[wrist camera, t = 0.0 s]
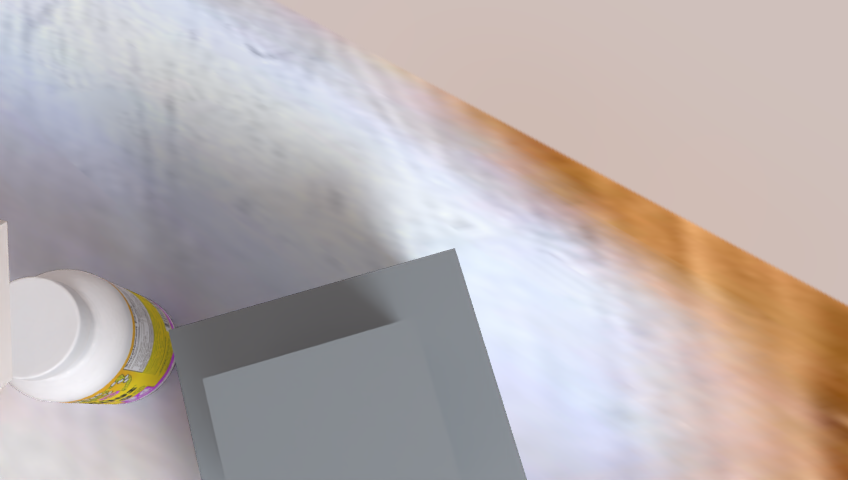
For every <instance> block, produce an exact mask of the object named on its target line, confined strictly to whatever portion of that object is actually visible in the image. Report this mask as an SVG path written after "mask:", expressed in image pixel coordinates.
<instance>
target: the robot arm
mask: <svg viewBox="0 0 848 480" xmlns="http://www.w3.org/2000/svg"><path fill="white" fill-rule="evenodd" d="M12 379H13V374H12V345H11V316H10V287H9V258H8V228H7V221H4V220H0V390H1V389H2V388H3V387H4V386H5V385H6V384H8V383H9V382H10V381H11V380H12Z"/></svg>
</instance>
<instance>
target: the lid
mask: <svg viewBox="0 0 848 480" xmlns="http://www.w3.org/2000/svg"><path fill="white" fill-rule="evenodd" d="M168 331H169V335H170V340H171V344H172V349H173V353H174V358H175V362H176V367H177V371H178V376H179V380H180V385H181V389H182V394H183V398H184V403H185V407H186V412H187V416H188V421H189V426H190V430H191V435H192V439H193V444H194V448H195V453H196V457H197V462H198V466H199V471H200V475H201V480H527V479H526V475H525V472H524V469H523V466H522V463H521V459H520V456H519V453H518V450H517V447H516V443H515V440H514V437H513V434H512V430H511V427H510V424H509V421H508V418H507V414H506V411H505V408H504V405H503V402H502V398H501V395H500V392H499V389H498V385H497V382H496V379H495V376H494V373H493V369H492V366H491V363H490V360H489V357H488V353H487V350H486V347H485V344H484V341H483V337H482V334H481V331H480V328H479V324H478V321H477V318H476V315H475V312H474V308H473V305H472V302H471V299H470V296H469V292H468V289H467V286H466V283H465V280H464V276H463V273H462V270H461V267H460V263H459V260H458V257H457V254H456V251H455V248H454V249H450V250H447V251H443V252H440V253H436V254H433V255H429V256H426V257H422V258H419V259H415V260H412V261H408V262H405V263H401V264H398V265H394V266H391V267H387V268H384V269H380V270H377V271H373V272H370V273H366V274H363V275H359V276H356V277H352V278H349V279H345V280H342V281H338V282H335V283H331V284H328V285H324V286H321V287H317V288H314V289H310V290H307V291H303V292H300V293H296V294H293V295H289V296H286V297H282V298H279V299H275V300H272V301H268V302H265V303H261V304H258V305H254V306H251V307H247V308H244V309H240V310H237V311H233V312H230V313H226V314H223V315H219V316H215V317H212V318H208V319H205V320H201V321H198V322H194V323H191V324H187V325H184V326H180V327H177V328H173V329H170V330H168Z"/></svg>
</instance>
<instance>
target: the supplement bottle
mask: <svg viewBox="0 0 848 480" xmlns="http://www.w3.org/2000/svg"><path fill="white" fill-rule="evenodd" d="M9 287H10V316H11V345H12V374H13V379H12V380H11V381H10V382H9V384H10V385H11V386H12V387H14V388H15V389H16V390H18V391H19V392H21V393H22V394H24V395H26V396H28V397H31V398H34V399H37V400H41V401H46V402H57V403H88V404H125V403H130V402H134V401H137V400H140V399H142V398H144V397H146V396H148V395H150V394H151V393H153V392H154V391H155V390H157V389H158V388H159V387H160V386H161V385H162V384H163V383H164V382H165V380H166V379H167V378H168V376H169V375H170V373H171V371H172V369H173V367H174V364H175V358H174V353H173V349H172V344H171V340H170V335H169V331H168V330H170V329H173V328H175V326H174V324H173V322H172V320H171V318H170V317H169V315H168V314H167V313H166V312H165V311H164V310H163V309H162V308H161V307H160V306H159V305H158V304H156V303H155V302H153V301H151V300H149V299H147V298H145V297H143V296H141V295H139V294H136V293H134V292H132V291H130V290H127V289H125V288H123V287H120V286H118V285H116V284H114V283H111V282H109V281H107V280H105V279H103V278H101V277H98V276H96V275H94V274H91V273H88V272H85V271H80V270H73V269H62V270H54V271H49V272H45V273H43V274H40V275H37V276H35V277H24V278H19V279H16V280H13V281H11V282H9Z"/></svg>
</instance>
